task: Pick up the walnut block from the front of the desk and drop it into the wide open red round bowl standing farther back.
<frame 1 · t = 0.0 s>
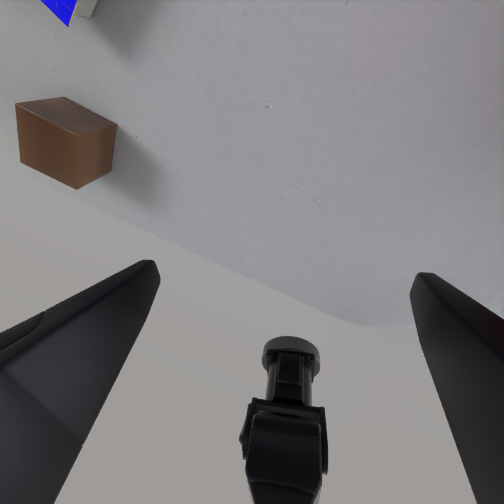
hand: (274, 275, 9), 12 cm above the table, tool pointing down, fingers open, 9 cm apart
block: (89, 136, 20), on the table
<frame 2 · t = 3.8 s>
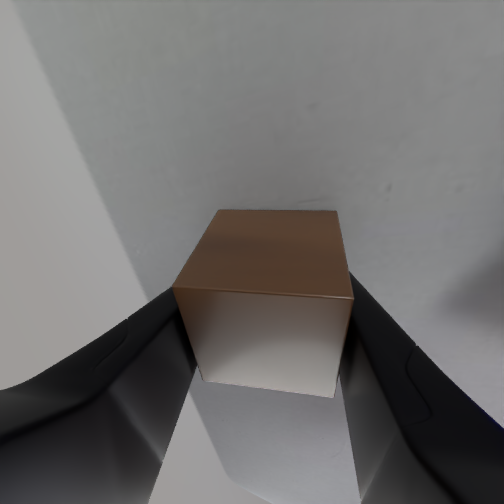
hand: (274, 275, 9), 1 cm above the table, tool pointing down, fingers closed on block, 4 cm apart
block: (276, 257, 10), on the table, touching gripper
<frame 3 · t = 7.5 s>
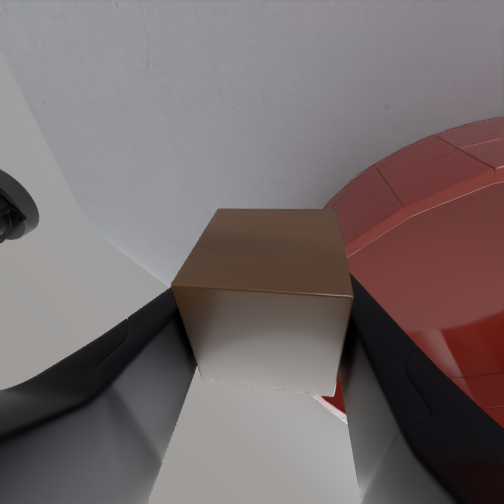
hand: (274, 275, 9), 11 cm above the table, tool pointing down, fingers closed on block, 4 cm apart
red round bowl: (450, 288, 21), on the table
block: (276, 256, 10), point 10 cm above the table, touching gripper
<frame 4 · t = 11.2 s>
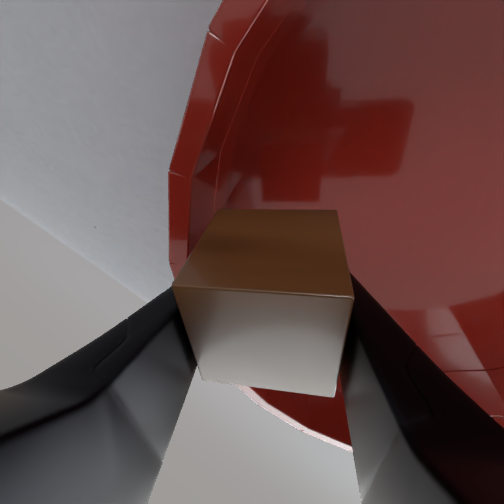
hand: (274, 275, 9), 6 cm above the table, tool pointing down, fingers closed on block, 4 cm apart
red round bowl: (468, 222, 13), on the table
block: (276, 256, 10), point 5 cm above the table, touching gripper
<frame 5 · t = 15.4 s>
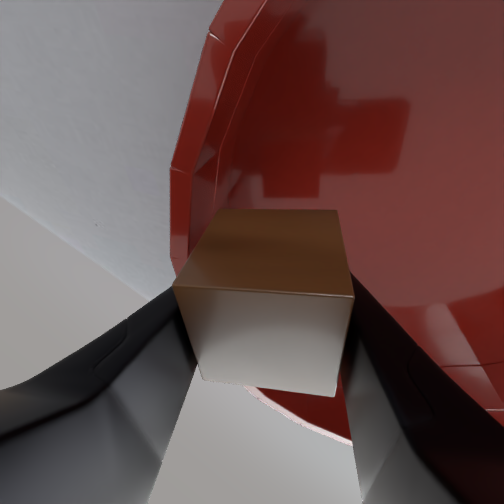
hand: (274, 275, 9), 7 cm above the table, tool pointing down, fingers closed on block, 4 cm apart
red round bowl: (463, 218, 13), on the table
block: (276, 256, 10), point 5 cm above the table, touching gripper
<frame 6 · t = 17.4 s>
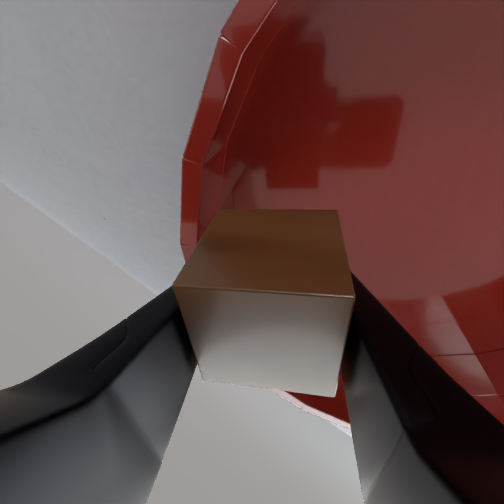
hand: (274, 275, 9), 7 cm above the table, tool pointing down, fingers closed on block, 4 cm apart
red round bowl: (455, 210, 14), on the table
block: (277, 256, 10), point 6 cm above the table, touching gripper
when the fingers open (7 cm above the table, at t = 18.9 s): block drops 6 cm, resting on red round bowl.
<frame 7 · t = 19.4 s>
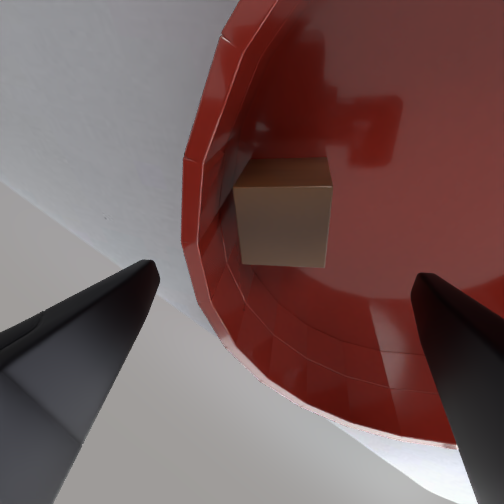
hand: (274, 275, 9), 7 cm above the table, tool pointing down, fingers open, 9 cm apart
red round bowl: (454, 209, 14), on the table
block: (287, 194, 15), point 1 cm above the table, touching red round bowl
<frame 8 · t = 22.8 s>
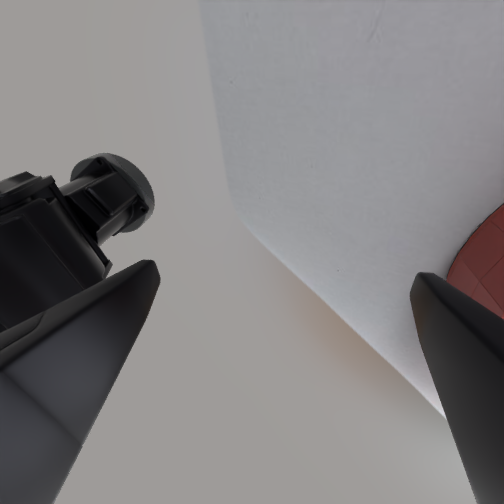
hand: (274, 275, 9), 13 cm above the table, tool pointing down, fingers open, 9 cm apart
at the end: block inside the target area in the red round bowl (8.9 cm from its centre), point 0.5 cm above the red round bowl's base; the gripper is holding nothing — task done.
